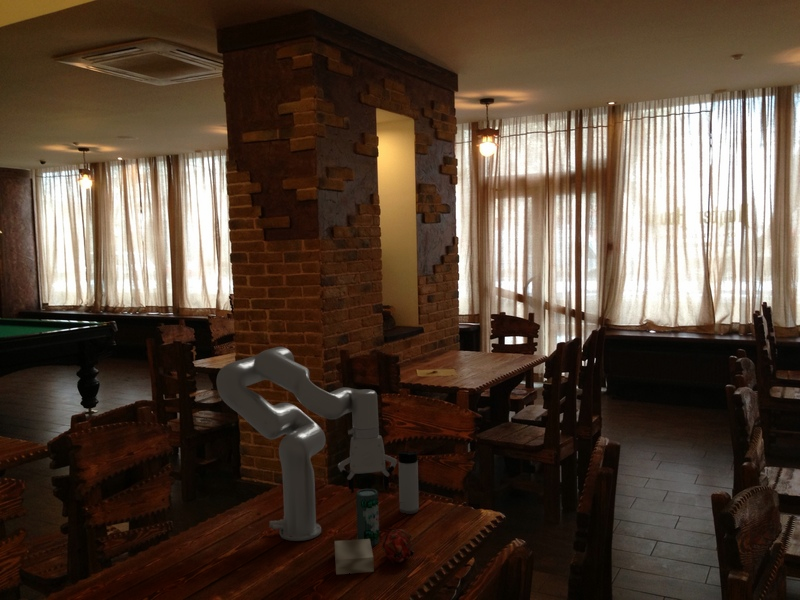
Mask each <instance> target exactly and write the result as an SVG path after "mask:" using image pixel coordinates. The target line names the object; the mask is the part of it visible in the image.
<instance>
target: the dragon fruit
mask: <svg viewBox="0 0 800 600" xmlns="http://www.w3.org/2000/svg"><path fill="white" fill-rule="evenodd" d="M411 539H412V535H411V534H410V533H409V532H408V533H407V532H406V531H405V530H404V529H402V528H400V529H399V528H398V529H392V530H391V531H390V532H389V534H386V535H385V536H384V537H383V542H382V545H381V549H382V551H384V555H385V556H386V557H387V558H388V560H389V561H390V563H392V565H396V564H397V563H402V562H404V560H407V559H408V558H409V557H412V556H414V554H415V551H414V550H412V549H413V546H414V545H413V544H414V543H413V542H412V541H411Z"/></svg>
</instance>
